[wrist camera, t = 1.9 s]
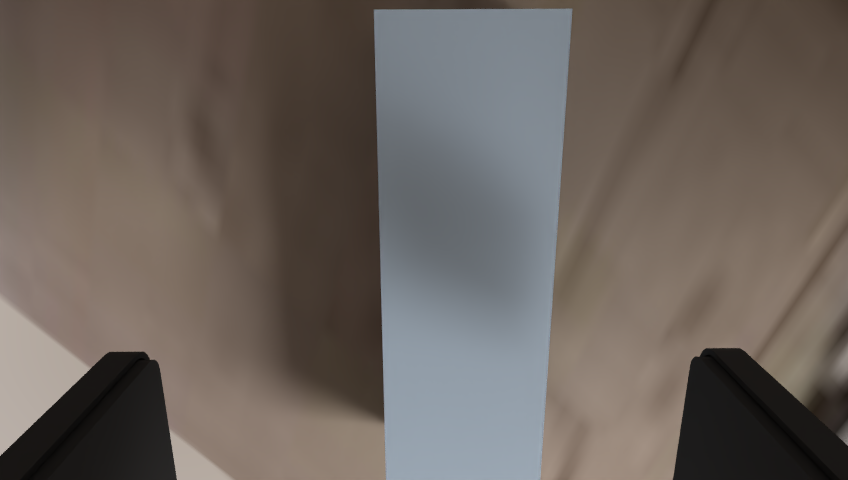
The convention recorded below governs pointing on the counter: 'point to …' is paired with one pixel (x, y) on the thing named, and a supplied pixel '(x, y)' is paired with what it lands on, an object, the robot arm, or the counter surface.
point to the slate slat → (468, 234)
